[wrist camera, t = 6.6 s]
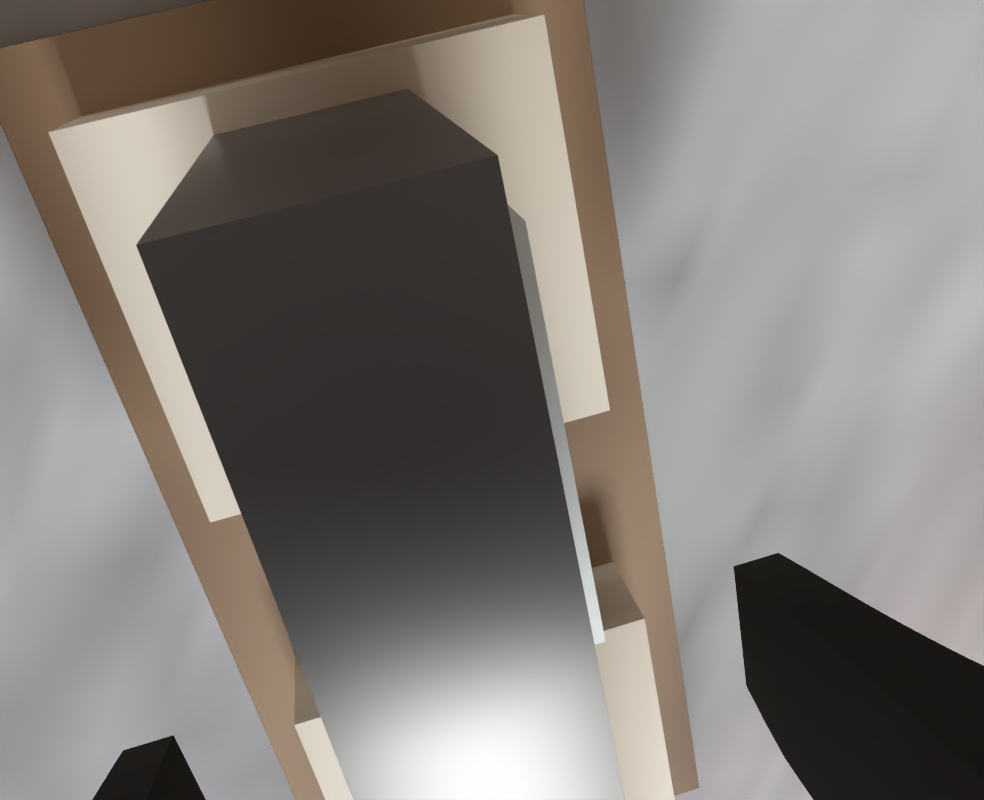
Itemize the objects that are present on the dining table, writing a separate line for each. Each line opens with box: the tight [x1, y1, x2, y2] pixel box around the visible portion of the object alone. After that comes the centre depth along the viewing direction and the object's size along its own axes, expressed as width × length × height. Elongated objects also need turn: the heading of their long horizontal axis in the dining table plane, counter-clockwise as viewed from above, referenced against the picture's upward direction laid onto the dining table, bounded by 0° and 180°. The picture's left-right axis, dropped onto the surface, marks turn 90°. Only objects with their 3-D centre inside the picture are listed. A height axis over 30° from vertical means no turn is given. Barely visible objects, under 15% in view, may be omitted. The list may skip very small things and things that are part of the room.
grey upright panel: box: [136, 89, 625, 800], centre depth 11 cm, size 14×3×6 cm, turn 12°
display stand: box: [0, 0, 699, 800], centre depth 14 cm, size 8×17×5 cm, turn 12°
